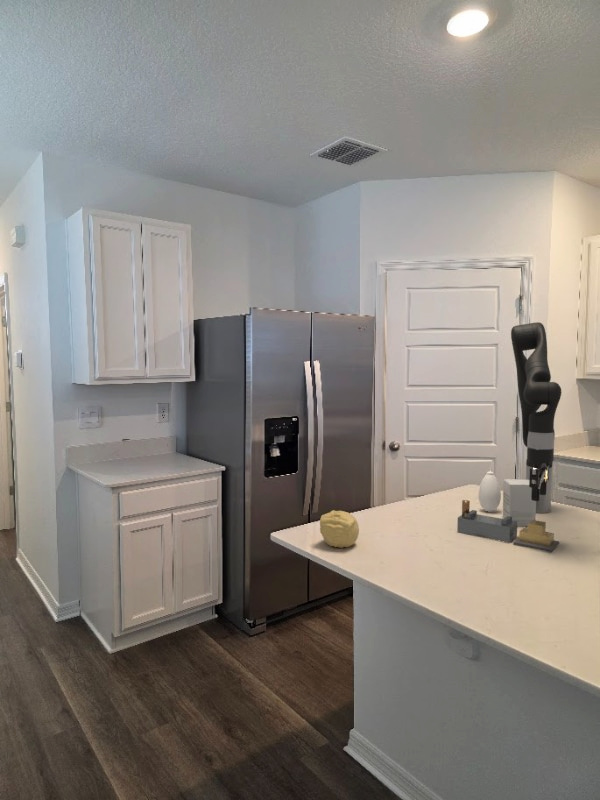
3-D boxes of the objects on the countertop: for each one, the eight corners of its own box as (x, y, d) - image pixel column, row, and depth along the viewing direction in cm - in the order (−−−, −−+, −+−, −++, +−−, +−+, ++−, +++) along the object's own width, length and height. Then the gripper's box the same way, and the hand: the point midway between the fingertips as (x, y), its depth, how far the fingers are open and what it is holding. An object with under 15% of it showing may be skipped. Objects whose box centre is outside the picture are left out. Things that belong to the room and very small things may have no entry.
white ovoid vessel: (474, 509, 205) (475, 463, 204) (491, 508, 208) (492, 462, 206) (487, 515, 198) (488, 467, 197) (504, 513, 200) (505, 466, 199)
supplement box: (527, 519, 192) (528, 479, 191) (535, 527, 184) (537, 484, 182) (501, 518, 193) (502, 478, 192) (508, 526, 184) (510, 483, 183)
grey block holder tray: (466, 526, 184) (466, 498, 183) (516, 536, 173) (517, 506, 173) (457, 532, 178) (458, 502, 177) (509, 542, 167) (510, 511, 166)
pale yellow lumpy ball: (315, 547, 162) (315, 513, 161) (330, 536, 173) (330, 503, 172) (350, 553, 157) (350, 518, 156) (363, 541, 168) (364, 508, 167)
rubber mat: (522, 536, 173) (522, 534, 173) (559, 543, 166) (559, 541, 166) (513, 544, 165) (513, 542, 165) (551, 552, 159) (551, 549, 159)
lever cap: (523, 536, 171) (524, 518, 170) (553, 542, 165) (554, 523, 165) (519, 540, 167) (519, 522, 166) (549, 546, 161) (550, 527, 161)
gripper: (533, 442, 172) (532, 491, 173) (521, 448, 160) (519, 500, 162) (558, 444, 167) (557, 494, 168) (548, 450, 156) (546, 504, 157)
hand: (538, 497), depth 165 cm, fingers open, 8 cm apart
